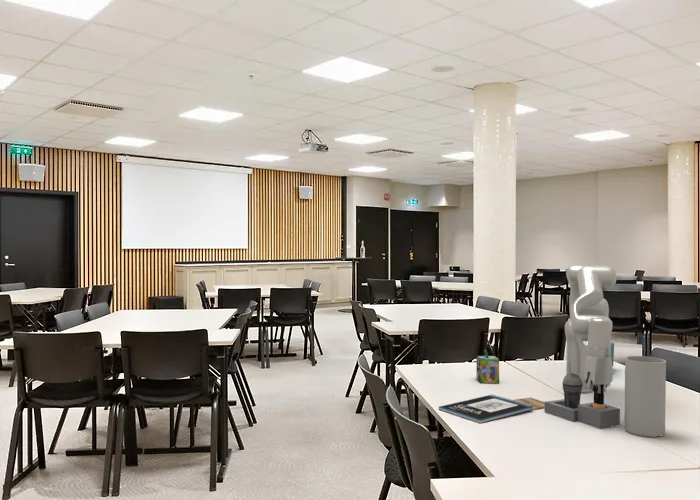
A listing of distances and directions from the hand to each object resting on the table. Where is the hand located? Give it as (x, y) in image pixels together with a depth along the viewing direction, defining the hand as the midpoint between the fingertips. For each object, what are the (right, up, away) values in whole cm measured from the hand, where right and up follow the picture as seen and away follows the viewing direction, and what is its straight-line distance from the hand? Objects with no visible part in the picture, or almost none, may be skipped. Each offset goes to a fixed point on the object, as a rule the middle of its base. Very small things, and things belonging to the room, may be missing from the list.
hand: (598, 403), depth 211 cm
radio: (+35, -8, +85) cm, 92 cm away
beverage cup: (-5, -7, +11) cm, 14 cm away
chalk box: (-24, -7, +66) cm, 71 cm away
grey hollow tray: (-4, -7, +6) cm, 10 cm away
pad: (-17, -7, +25) cm, 31 cm away
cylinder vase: (+12, -8, -10) cm, 17 cm away
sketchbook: (-37, -7, +15) cm, 40 cm away
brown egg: (0, -4, 0) cm, 4 cm away
